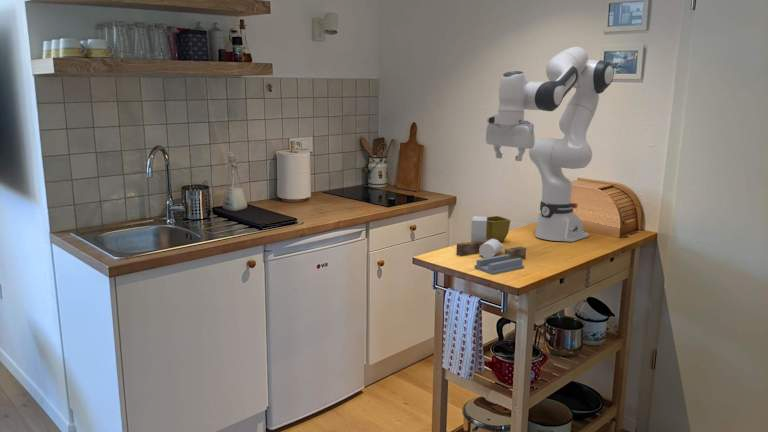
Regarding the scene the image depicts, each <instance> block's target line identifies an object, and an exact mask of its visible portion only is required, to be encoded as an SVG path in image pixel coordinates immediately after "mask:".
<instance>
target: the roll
mask: <svg viewBox="0 0 768 432" xmlns="http://www.w3.org/2000/svg"><path fill="white" fill-rule="evenodd" d="M503 249H504V245H503V244H502V242H499V241H498V240H496V239H490V240H489V241H487V242H485V243H484V244H483V245H481V246H480V248H479V252H480V253H479V254H480V256H481V257H483V259H484V258H489V257H495V256H497V254H499V253H500V252H502V250H503Z"/></svg>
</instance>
